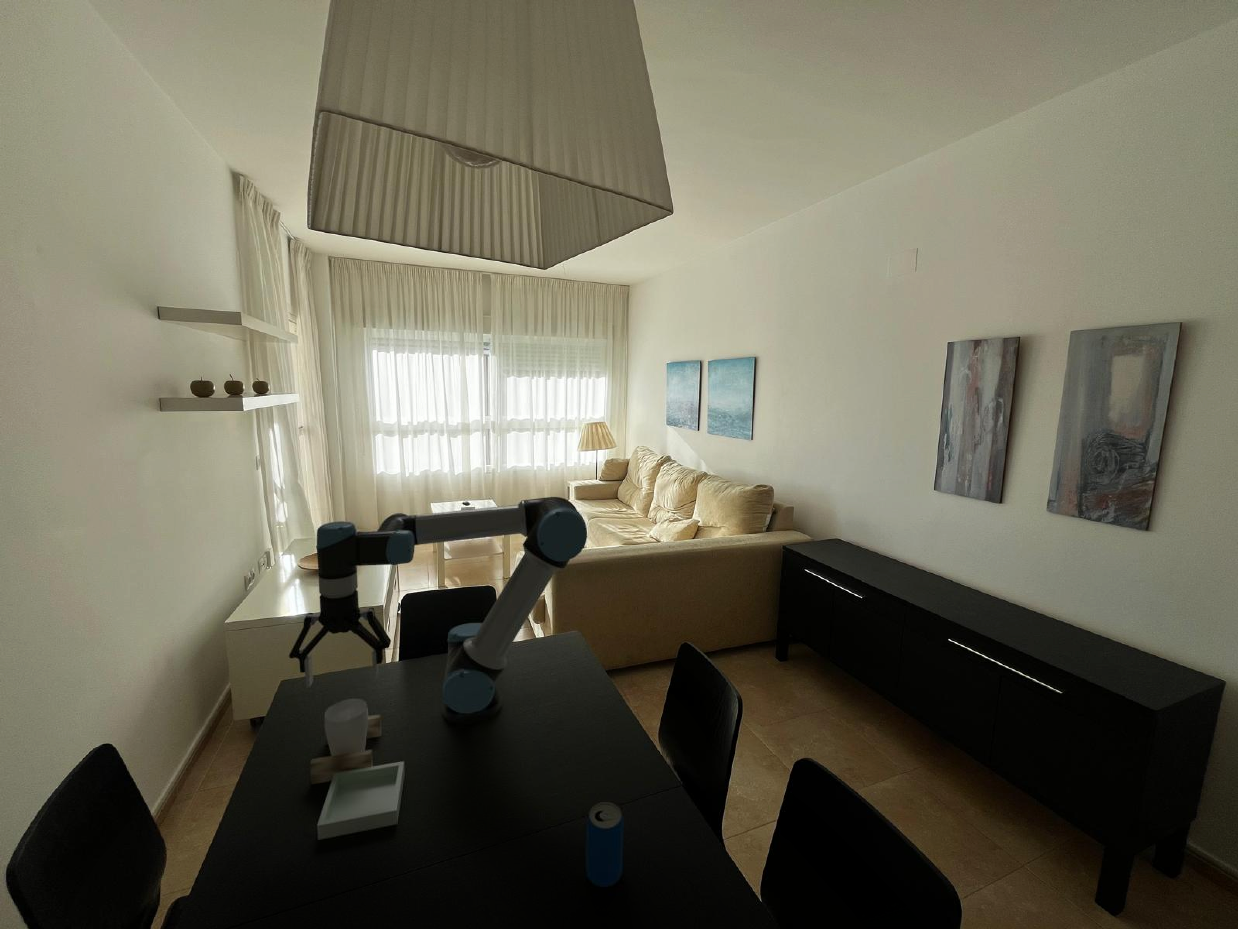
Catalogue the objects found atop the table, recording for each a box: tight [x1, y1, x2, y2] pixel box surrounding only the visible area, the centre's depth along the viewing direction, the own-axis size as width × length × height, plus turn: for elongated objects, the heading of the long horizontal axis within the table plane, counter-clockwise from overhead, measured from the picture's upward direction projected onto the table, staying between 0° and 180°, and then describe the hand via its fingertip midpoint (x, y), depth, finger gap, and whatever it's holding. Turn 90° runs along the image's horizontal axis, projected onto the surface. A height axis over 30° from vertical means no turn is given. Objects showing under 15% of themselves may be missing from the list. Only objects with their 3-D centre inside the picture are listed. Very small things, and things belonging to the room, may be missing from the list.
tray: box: [316, 761, 406, 841], centre depth 107 cm, size 14×14×3 cm
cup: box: [324, 698, 370, 756], centre depth 120 cm, size 9×9×12 cm
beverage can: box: [585, 801, 624, 888], centre depth 93 cm, size 6×6×12 cm
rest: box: [309, 713, 382, 785], centre depth 121 cm, size 12×14×5 cm
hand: (343, 680), depth 118 cm, fingers open, 13 cm apart
